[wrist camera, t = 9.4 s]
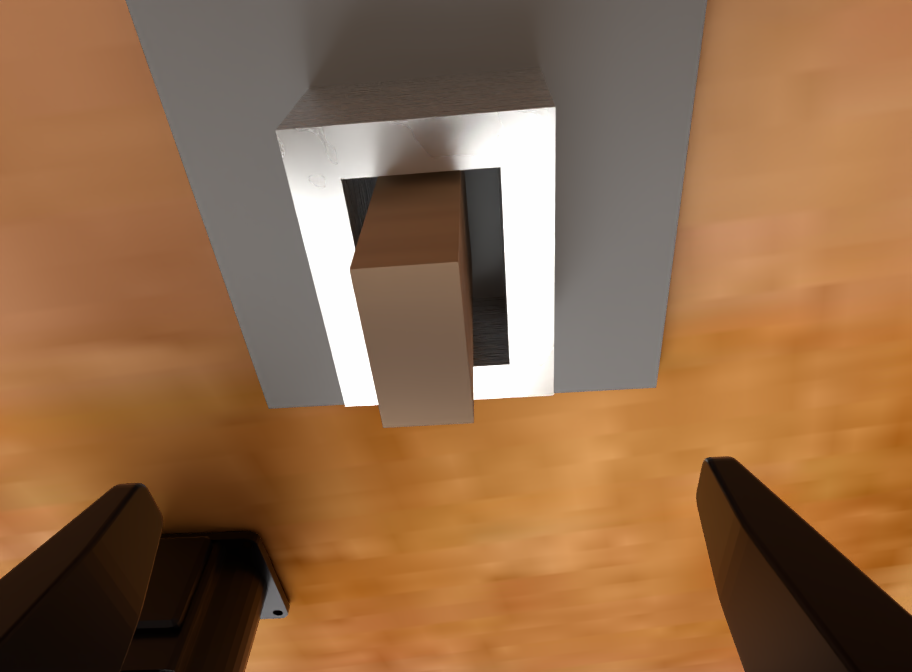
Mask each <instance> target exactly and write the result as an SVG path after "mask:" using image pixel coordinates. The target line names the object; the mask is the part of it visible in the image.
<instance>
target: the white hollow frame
mask: <svg viewBox="0 0 912 672" xmlns="http://www.w3.org/2000/svg"><path fill="white" fill-rule="evenodd" d="M555 122H556V107H555V104H554V102H553V99H552V97H551V94H550V92H549V89H548V87H547V84H546V82H545V79H544V77H543V74H542V72H541V69H540V68H530V69H519V70H507V71H496V72H485V73H473V74H462V75H450V76H439V77H427V78H416V79H404V80H393V81H381V82H370V83H358V84H347V85H336V86H324V87H313V88H308V90H307V91H306V92H305V93H304V95H303V96H302V97H301V98H300V100H299V101H298V102H297V104H296V105H295V106H294V107H293V109H292V110H291V111H290V112H289V114H288V115H287V116H286V117H285V119H284V120H283V121H282V123H281V124H280V125H279V126H278V128H277V129H276V130H275V131H276V135H277V139H278V143H279V147H280V151H281V155H282V159H283V163H284V166H285V170H286V174H287V178H288V182H289V186H290V190H291V194H292V198H293V202H294V206H295V210H296V214H297V218H298V222H299V226H300V229H301V233H302V237H303V241H304V245H305V249H306V253H307V257H308V261H309V265H310V269H311V273H312V277H313V281H314V285H315V289H316V292H317V296H318V300H319V304H320V308H321V312H322V316H323V320H324V324H325V328H326V332H327V336H328V340H329V344H330V348H331V352H332V355H333V359H334V363H335V367H336V371H337V375H338V379H339V383H340V387H341V391H342V395H343V399H344V403H345V407H346V406H364V405H378V401H377V396H376V392H375V387H374V382H373V378H372V373H371V368H370V364H369V359H368V355H367V350H366V345H365V341H364V336H363V331H362V327H361V322H360V317H359V313H358V308H357V303H356V299H355V294H354V289H353V285H352V280H351V275H350V271H349V268H350V265H351V262H352V259H353V256H354V252H355V249H356V246H357V243H358V239H359V236H360V233H361V230H362V227H363V223H364V220H365V217H366V214H367V210H368V207H369V204H370V201H371V198H372V194H373V189H372V183H371V178H370V177H377V176H390V175H403V174H416V173H429V172H441V171H454V170H467V169H480V168H493V167H498V187H499V207H500V227H501V248H502V268H503V289H504V296H503V297H488V298H473V381H474V400H475V399H493V398H511V397H530V396H548V395H554V272H555Z"/></svg>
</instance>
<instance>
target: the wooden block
mask: <svg viewBox="0 0 912 672" xmlns="http://www.w3.org/2000/svg"><path fill="white" fill-rule="evenodd" d="M349 271H350V275H351V280H352V285H353V289H354V294H355V299H356V303H357V308H358V313H359V317H360V322H361V327H362V331H363V336H364V341H365V345H366V350H367V355H368V359H369V364H370V368H371V373H372V378H373V382H374V387H375V392H376V396H377V401H378V406H379V410H380V415H381V420H382V424H383V428H389V427H408V426H426V425H445V424H464V423H474V381H473V290H472V256H471V244H470V232H469V220H468V208H467V196H466V184H465V172H464V170H454V171H441V172H429V173H416V174H403V175H390V176H378V178H377V181H376V185H375V188H374V191H373V194H372V198H371V201H370V204H369V207H368V210H367V214H366V217H365V220H364V223H363V227H362V230H361V233H360V236H359V239H358V243H357V246H356V249H355V252H354V256H353V259H352V262H351V265H350V268H349Z"/></svg>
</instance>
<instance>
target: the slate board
mask: <svg viewBox="0 0 912 672" xmlns="http://www.w3.org/2000/svg"><path fill="white" fill-rule="evenodd" d="M126 3H127V6H128V9H129V12H130V14H131V17H132V20H133V23H134V26H135V29H136V32H137V34H138V37H139V40H140V43H141V46H142V49H143V52H144V54H145V57H146V60H147V63H148V66H149V69H150V71H151V74H152V77H153V80H154V83H155V86H156V89H157V91H158V94H159V97H160V100H161V103H162V106H163V109H164V111H165V114H166V117H167V120H168V123H169V126H170V128H171V131H172V134H173V137H174V140H175V143H176V146H177V148H178V151H179V154H180V157H181V160H182V163H183V166H184V168H185V171H186V174H187V177H188V180H189V183H190V185H191V188H192V191H193V194H194V197H195V200H196V203H197V205H198V208H199V211H200V214H201V217H202V220H203V223H204V225H205V228H206V231H207V234H208V237H209V240H210V242H211V245H212V248H213V251H214V254H215V257H216V260H217V262H218V265H219V268H220V271H221V274H222V277H223V280H224V282H225V285H226V288H227V291H228V294H229V297H230V299H231V302H232V305H233V308H234V311H235V314H236V317H237V319H238V322H239V325H240V328H241V331H242V334H243V337H244V339H245V342H246V345H247V348H248V351H249V354H250V356H251V359H252V362H253V365H254V368H255V371H256V374H257V376H258V379H259V382H260V385H261V388H262V391H263V394H264V396H265V399H266V402H267V405H268V408H269V409H272V408H290V407H308V406H327V405H345V403H344V399H343V395H342V391H341V387H340V383H339V379H338V375H337V371H336V367H335V363H334V359H333V355H332V352H331V348H330V344H329V340H328V336H327V332H326V328H325V324H324V320H323V316H322V312H321V308H320V304H319V300H318V296H317V292H316V289H315V285H314V281H313V277H312V273H311V269H310V265H309V261H308V257H307V253H306V249H305V245H304V241H303V237H302V233H301V229H300V226H299V222H298V218H297V214H296V210H295V206H294V202H293V198H292V194H291V190H290V186H289V182H288V178H287V174H286V170H285V166H284V163H283V159H282V155H281V151H280V147H279V143H278V139H277V135H276V131H275V130H276V129H277V128H278V126H279V125H280V124H281V123H282V121H283V120H284V119H285V117H286V116H287V115H288V114H289V112H290V111H291V110H292V109H293V107H294V106H295V105H296V104H297V102H298V101H299V100H300V98H301V97H302V96H303V95H304V93H305V92H306V91H307V90H308V88H313V87H324V86H336V85H347V84H358V83H370V82H381V81H393V80H404V79H416V78H427V77H439V76H450V75H462V74H473V73H485V72H496V71H507V70H519V69H530V68H540V69H541V72H542V74H543V77H544V79H545V82H546V84H547V87H548V89H549V92H550V94H551V97H552V99H553V102H554V104H555V107H556V122H555V272H554V393H565V392H584V391H602V390H620V389H639V388H656V385H657V377H658V370H659V362H660V355H661V347H662V339H663V332H664V324H665V317H666V309H667V301H668V294H669V286H670V279H671V271H672V264H673V256H674V248H675V241H676V233H677V226H678V218H679V211H680V203H681V195H682V188H683V180H684V173H685V165H686V157H687V150H688V142H689V135H690V127H691V120H692V112H693V104H694V97H695V89H696V82H697V74H698V66H699V59H700V51H701V44H702V36H703V29H704V21H705V13H706V6H707V0H126ZM464 172H465V184H466V196H467V208H468V220H469V232H470V244H471V256H472V290H473V298H488V297H503V296H504V289H503V268H502V248H501V227H500V207H499V187H498V167H493V168H480V169H467V170H464ZM370 178H371V183H372V189H373V191H374V188H375V185H376V181H377V178H378V176H377V177H370Z"/></svg>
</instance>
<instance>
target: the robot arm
mask: <svg viewBox="0 0 912 672" xmlns="http://www.w3.org/2000/svg"><path fill="white" fill-rule="evenodd" d="M696 500H697V507H698V512H699V516H700V520H701V524H702V529H703V533H704V537H705V541H706V546H707V550H708V554H709V558H710V563H711V567H712V571H713V575H714V580H715V584H716V588H717V592H718V596H719V600H720V603H721V606H722V609H723V612H724V615H725V618H726V620H727V623H728V626H729V629H730V632H731V634H732V637H733V640H734V643H735V645H736V648H737V651H738V654H739V657H740V659H741V662H742V665H743V668H744V671H745V672H912V615H911V614H909V613H908V612H907V611H906V610H905V609H904V608H903V607H902V606H900V605H899V604H898V603H897V602H896V601H895V600H894V599H893V598H891V597H890V596H889V595H888V594H887V593H886V592H885V591H884V590H882V589H881V588H880V587H879V586H878V585H877V584H876V583H875V582H873V581H872V580H871V579H870V578H869V577H868V576H867V575H866V574H864V573H863V572H862V571H861V570H860V569H859V568H858V567H857V566H855V565H854V564H853V563H852V562H851V561H850V560H849V559H848V558H846V557H845V556H844V555H843V554H842V553H841V552H840V551H839V550H837V549H836V548H835V547H834V546H833V545H832V544H831V543H830V542H828V541H827V540H826V539H825V538H824V537H823V536H822V535H821V534H819V533H818V532H817V531H816V530H815V529H814V528H813V527H812V526H810V525H809V524H808V523H807V522H806V521H805V520H804V519H803V518H801V517H800V516H799V515H798V514H797V513H796V512H795V511H794V510H792V509H791V508H790V507H789V506H788V505H787V504H786V503H785V502H783V501H782V500H781V499H780V498H779V497H778V496H777V495H776V494H774V493H773V492H772V491H771V490H770V489H769V488H768V487H766V486H765V485H764V484H763V483H762V482H761V481H760V480H759V479H757V478H756V477H755V476H754V475H753V474H752V473H751V472H750V471H748V470H747V469H746V468H745V467H744V466H743V465H742V464H741V463H739V462H738V461H737V460H736V459H734V458H732V457H708V458H706V459H705V460H704V461H703V464H702V468H701V473H700V478H699V483H698V487H697V493H696ZM162 528H163V518H162V514H161V512H160V510H159V508H158V506H157V505H156V503H155V501H154V499H153V497H152V496H151V494H150V492H149V490H148V489H147V487H146V486H145V485H143V484H142V483H127V484H118V485H116V486H114V487H113V488H111V489H110V490H109V491H107V492H106V493H105V494H104V495H103V496H101V497H100V498H99V499H98V500H96V501H95V502H94V503H93V504H92V505H90V506H89V507H88V508H87V509H85V510H84V511H83V512H82V513H81V514H79V515H78V516H77V517H76V518H74V519H73V520H72V521H71V522H70V523H68V524H67V525H66V526H65V527H63V528H62V529H61V530H60V531H59V532H57V533H56V534H55V535H54V536H52V537H51V538H50V539H49V540H48V541H46V542H45V543H44V544H43V545H41V546H40V547H39V548H38V549H37V550H35V551H34V552H33V553H32V554H30V555H29V556H28V557H27V558H26V559H24V560H23V561H22V562H21V563H19V564H18V565H17V566H16V567H15V568H13V569H12V570H11V571H10V572H8V573H7V574H6V575H5V576H3V577H2V578H1V579H0V672H245V669H246V665H247V662H248V658H249V655H250V651H251V648H252V644H253V641H254V637H255V634H256V630H257V627H258V623H259V620H260V619H274V618H284V617H286V616H287V615H288V612H289V608H290V605H289V603H288V600H287V598H286V596H285V594H284V591H283V589H282V587H281V584H280V582H279V580H278V577H277V575H276V573H275V570H274V568H273V566H272V563H271V561H270V559H269V556H268V554H267V552H266V549H265V547H264V545H263V542H262V540H261V538H260V536H259V535H258V534H256V533H254V532H251V531H235V532H211V533H187V534H163V535H161V533H162Z"/></svg>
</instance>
